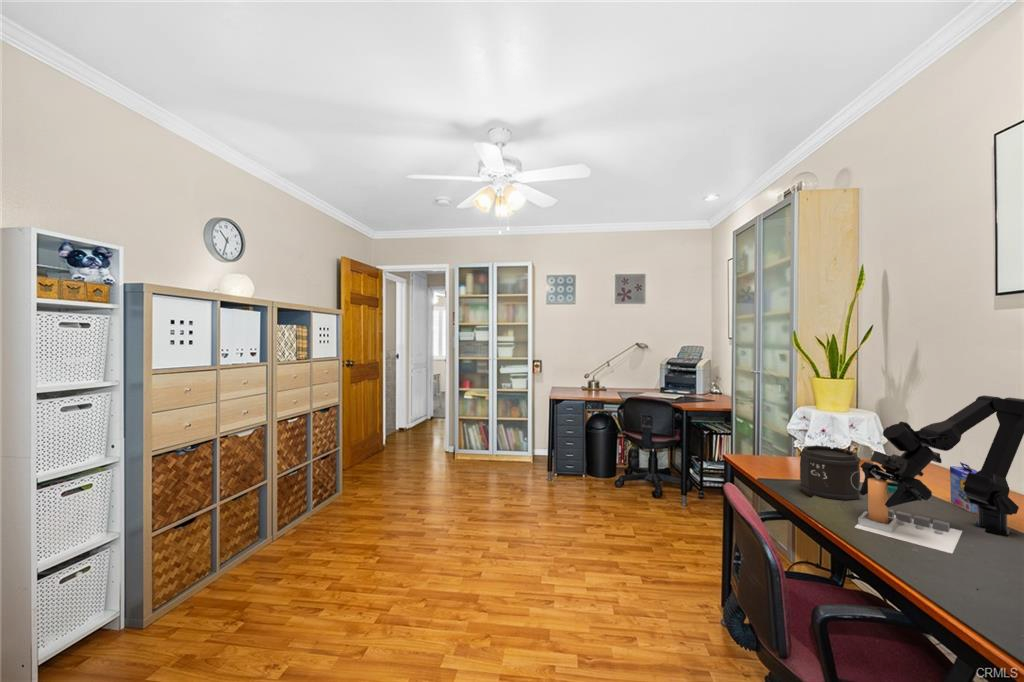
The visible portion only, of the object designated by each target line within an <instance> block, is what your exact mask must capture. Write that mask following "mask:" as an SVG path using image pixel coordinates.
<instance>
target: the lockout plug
mask: <svg viewBox="0 0 1024 682" xmlns="http://www.w3.org/2000/svg"><path fill="white" fill-rule="evenodd" d="M887 481H888V480H887ZM887 481H885V480H882V479H876V478H869V479H868V494H867V502H868V503H867V504H868V505H867V506H868V507H867V508H868V511H867V512H868V515H869V520H873V521H877V522H881V523H885V524H888V509H889V507H886V506H885V503H886V502H887V500H888V499H889V497H888V496H889V494H888V493H889V492H888V485H887Z"/></svg>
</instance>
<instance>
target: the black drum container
mask: <svg viewBox="0 0 1024 682" xmlns="http://www.w3.org/2000/svg"><path fill="white" fill-rule="evenodd" d="M798 455H799V457H800V460H799V479H800V483H799V487H800V488H801V489H802V493H803V494H806V495H807V496H808V497H810V498H813V497H814V496H818V497H822V498H824V499H832V500H842V501H848V500H849V501H850V500H858V499H859V498H860V495H861V494H860V490H861V489H860V486H861V485H860V484H861V469H860V468H861V467H860V464H861V458H860V457H858V454H857V452H855V451H852V450H849V449H845V448H841V447H840V448H839V447H833V448H832V447H831V446H825V445H807V446H804V447H803V448H802V450H801V452H799V454H798Z"/></svg>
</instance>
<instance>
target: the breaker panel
mask: <svg viewBox="0 0 1024 682" xmlns="http://www.w3.org/2000/svg"><path fill="white" fill-rule="evenodd" d="M912 515H913V514H912V513H908V512H904V511H900V510H899V511H898V510H897V511H896V512H895V510H894V509H890V508H888V517H892V518H896V519H898V527H897V528H896V529H895V531H894V532H893V533H889V532H885V531H881V530H877V529H874V528H870V527H866V526H862V525H858V523H857V524H856V525H855V526H854V528H855V529H858V530H863V531H866V532H871V533H873V534H877V535H881V536H884V537H889V538H893V539H896V540H900V541H904V542H907V543H910V544H914V545H919V546H922V547H926V548H929V549H933V550H937V551H941V552H944V553H948V554H953V553H954V551H955V549H956V548H957V544H958V542H959V540H960V538H961V535H962V533H963V530H960V529H955V528H952V527H950V525H951V524H950V522H947V521H943V520H939V519H936V518H935V519H934V518H933V520H932V523H931V518H930V517H925V516H921V515H917V514H915V515H914V516H913V518H912Z"/></svg>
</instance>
